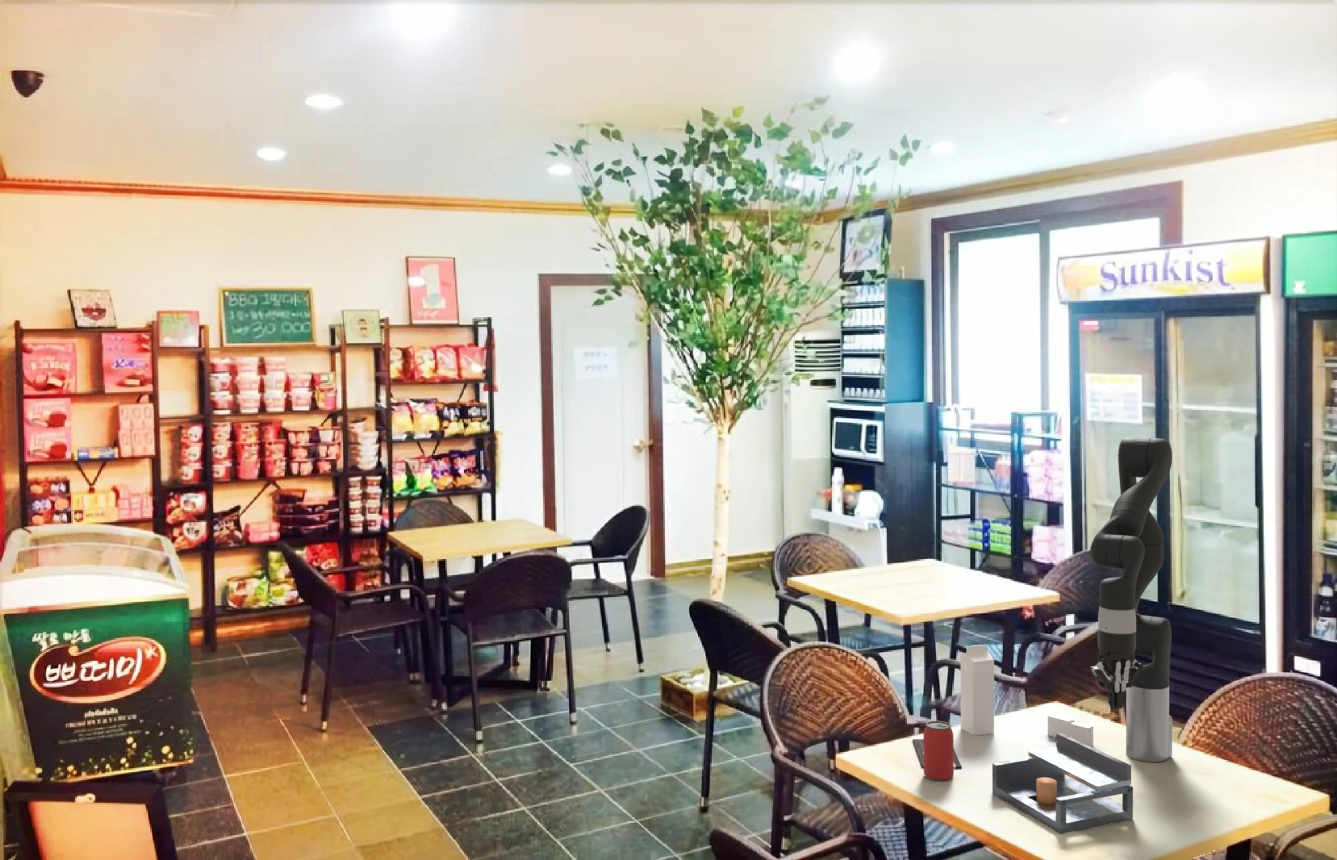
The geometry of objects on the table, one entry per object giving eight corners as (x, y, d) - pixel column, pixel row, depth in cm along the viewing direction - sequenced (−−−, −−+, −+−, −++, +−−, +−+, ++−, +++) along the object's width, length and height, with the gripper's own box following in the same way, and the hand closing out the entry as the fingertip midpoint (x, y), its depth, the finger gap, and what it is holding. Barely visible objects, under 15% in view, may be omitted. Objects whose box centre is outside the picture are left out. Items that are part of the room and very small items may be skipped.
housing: (1060, 781, 247) (1060, 751, 246) (1132, 819, 226) (1133, 787, 226) (992, 794, 241) (992, 763, 240) (1060, 834, 220) (1060, 800, 220)
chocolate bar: (949, 739, 274) (961, 766, 256) (949, 743, 274) (961, 770, 256) (912, 739, 274) (921, 766, 257) (912, 743, 274) (921, 770, 257)
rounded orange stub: (1048, 804, 235) (1048, 776, 235) (1060, 811, 231) (1060, 783, 231) (1032, 807, 234) (1032, 779, 233) (1045, 814, 230) (1045, 786, 229)
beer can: (954, 782, 247) (954, 730, 247) (924, 781, 249) (923, 728, 248) (952, 772, 254) (952, 720, 253) (923, 770, 255) (923, 719, 254)
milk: (994, 733, 279) (994, 647, 277) (972, 736, 277) (973, 649, 275) (981, 726, 285) (981, 641, 283) (960, 728, 283) (960, 643, 281)
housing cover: (1060, 750, 246) (1060, 732, 246) (1131, 784, 226) (1131, 765, 226) (1028, 756, 243) (1028, 738, 243) (1097, 791, 223) (1097, 771, 223)
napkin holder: (1036, 733, 280) (1036, 711, 279) (1081, 732, 280) (1081, 709, 280) (1058, 754, 265) (1058, 731, 264) (1105, 753, 265) (1106, 729, 265)
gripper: (1104, 635, 230) (1103, 717, 231) (1154, 629, 235) (1153, 709, 236) (1079, 627, 237) (1078, 706, 238) (1128, 621, 242) (1128, 699, 243)
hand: (1116, 707), depth 237 cm, fingers closed
